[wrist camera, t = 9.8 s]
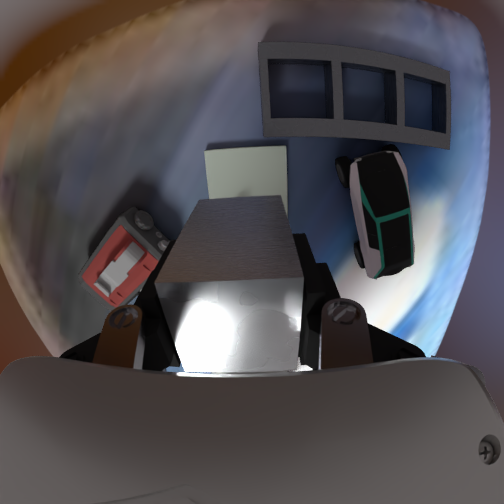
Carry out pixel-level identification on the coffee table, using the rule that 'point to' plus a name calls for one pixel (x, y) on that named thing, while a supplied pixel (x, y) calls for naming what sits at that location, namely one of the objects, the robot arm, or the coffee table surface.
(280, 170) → the sage mat
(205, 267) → the steel block
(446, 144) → the grey flat frame
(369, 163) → the toy car
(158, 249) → the walkie-talkie
